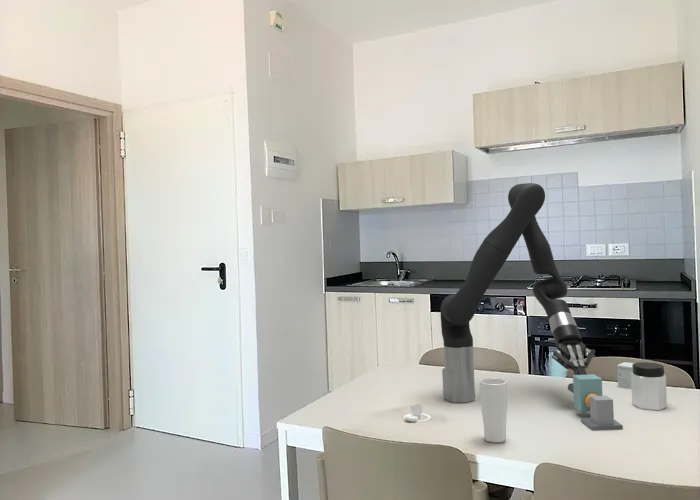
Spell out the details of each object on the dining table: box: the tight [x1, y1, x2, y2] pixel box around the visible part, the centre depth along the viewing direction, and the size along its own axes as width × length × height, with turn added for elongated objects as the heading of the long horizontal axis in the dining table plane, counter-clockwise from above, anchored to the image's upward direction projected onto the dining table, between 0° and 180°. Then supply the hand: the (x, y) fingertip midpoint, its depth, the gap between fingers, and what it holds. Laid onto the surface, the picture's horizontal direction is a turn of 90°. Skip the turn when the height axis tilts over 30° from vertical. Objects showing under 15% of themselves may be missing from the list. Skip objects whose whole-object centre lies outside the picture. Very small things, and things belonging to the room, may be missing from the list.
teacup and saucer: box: [403, 403, 432, 423], centre depth 160 cm, size 9×8×4 cm
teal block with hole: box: [572, 373, 603, 413], centre depth 155 cm, size 5×6×9 cm
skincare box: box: [616, 361, 635, 390], centre depth 183 cm, size 6×6×7 cm
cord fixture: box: [567, 382, 624, 431], centre depth 155 cm, size 23×8×8 cm, turn 0°
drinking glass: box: [479, 377, 508, 444], centre depth 140 cm, size 7×7×15 cm
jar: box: [631, 361, 668, 411], centre depth 162 cm, size 9×8×12 cm
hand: (582, 380), depth 158 cm, fingers closed
